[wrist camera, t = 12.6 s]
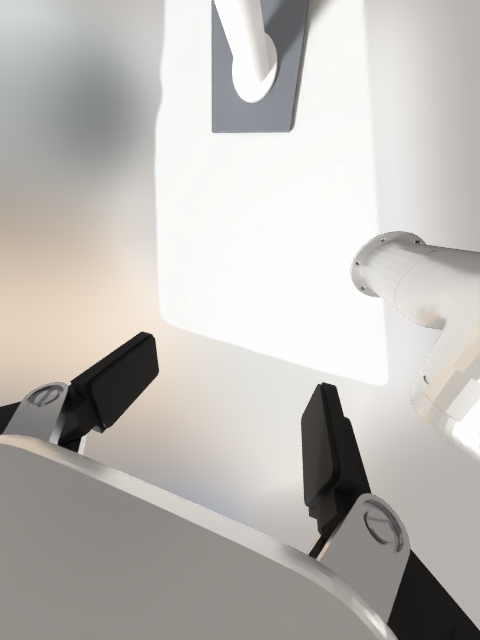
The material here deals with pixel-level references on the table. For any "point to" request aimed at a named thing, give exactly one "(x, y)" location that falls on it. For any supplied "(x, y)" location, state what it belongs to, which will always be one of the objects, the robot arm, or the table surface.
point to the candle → (248, 48)
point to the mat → (277, 106)
